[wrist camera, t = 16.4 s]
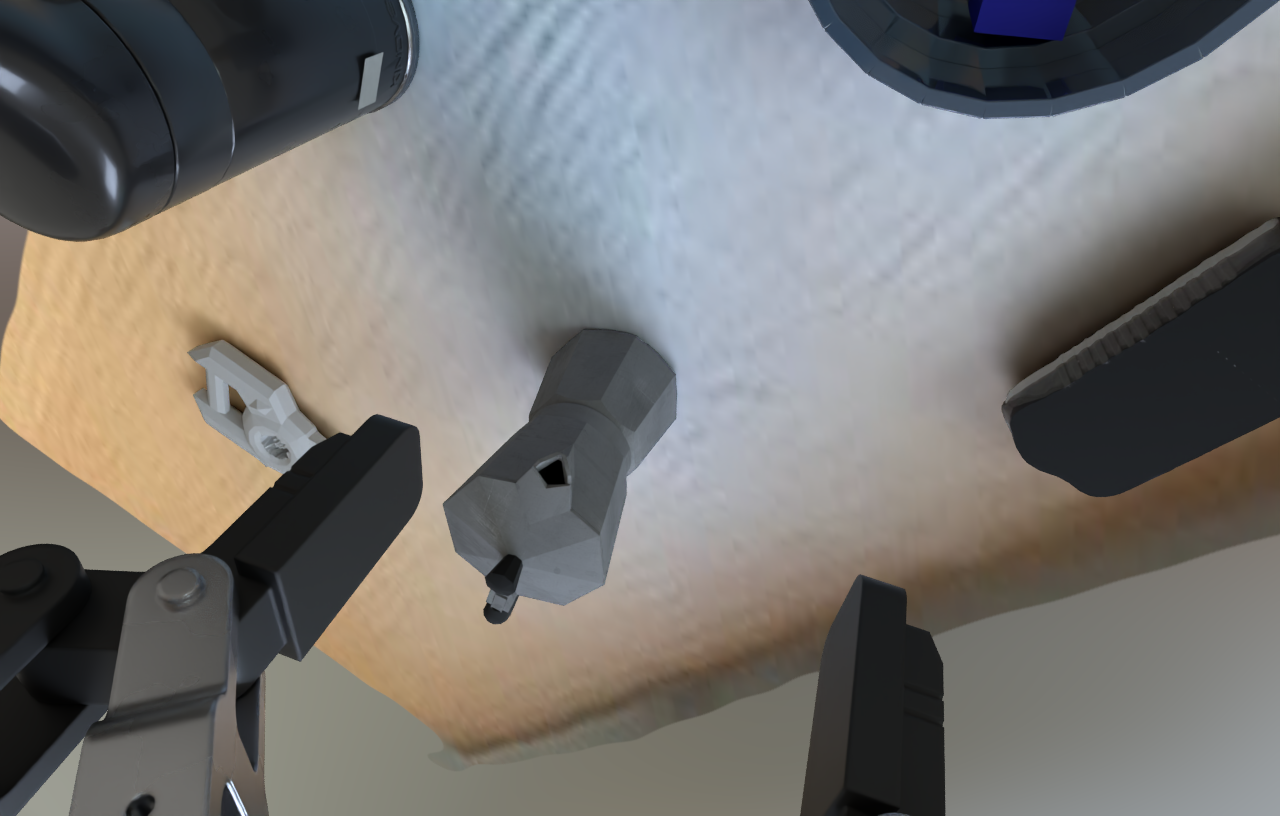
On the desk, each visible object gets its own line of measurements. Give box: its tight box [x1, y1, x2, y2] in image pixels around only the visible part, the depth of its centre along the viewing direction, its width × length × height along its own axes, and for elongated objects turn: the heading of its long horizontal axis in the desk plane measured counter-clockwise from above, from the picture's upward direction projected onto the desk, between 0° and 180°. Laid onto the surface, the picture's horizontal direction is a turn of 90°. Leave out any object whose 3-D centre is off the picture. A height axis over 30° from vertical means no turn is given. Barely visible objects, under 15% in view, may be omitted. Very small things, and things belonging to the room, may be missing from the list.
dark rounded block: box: [1002, 217, 1280, 497], centre depth 37 cm, size 16×8×4 cm, turn 144°
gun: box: [187, 340, 326, 474], centre depth 62 cm, size 18×4×10 cm
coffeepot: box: [443, 329, 677, 624], centre depth 44 cm, size 15×9×18 cm, turn 160°
